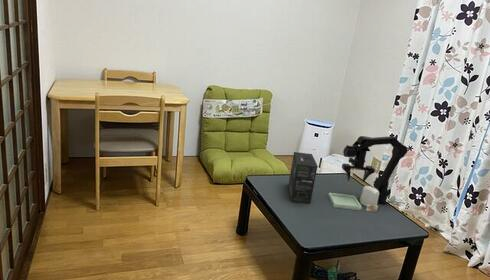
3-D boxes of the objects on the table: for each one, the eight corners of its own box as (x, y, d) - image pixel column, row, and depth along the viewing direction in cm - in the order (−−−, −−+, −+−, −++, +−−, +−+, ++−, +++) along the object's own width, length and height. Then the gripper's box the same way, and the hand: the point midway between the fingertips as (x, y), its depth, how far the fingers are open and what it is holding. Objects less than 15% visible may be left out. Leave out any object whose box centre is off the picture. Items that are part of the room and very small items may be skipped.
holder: (368, 201, 235) (370, 196, 234) (376, 211, 221) (377, 206, 220) (359, 200, 235) (360, 195, 234) (366, 210, 221) (367, 205, 220)
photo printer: (358, 203, 231) (362, 184, 228) (362, 202, 233) (367, 183, 230) (372, 210, 223) (377, 191, 220) (377, 209, 226) (381, 190, 222)
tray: (353, 199, 236) (354, 195, 235) (361, 210, 220) (361, 206, 220) (328, 196, 235) (329, 192, 235) (334, 207, 220) (334, 203, 219)
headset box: (311, 203, 221) (318, 162, 214) (290, 201, 221) (297, 159, 214) (305, 188, 243) (312, 150, 236) (287, 186, 243) (293, 148, 236)
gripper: (371, 154, 234) (366, 178, 238) (341, 151, 233) (337, 175, 238) (377, 160, 223) (372, 184, 228) (346, 157, 223) (341, 181, 227)
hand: (355, 181), depth 230 cm, fingers open, 9 cm apart
